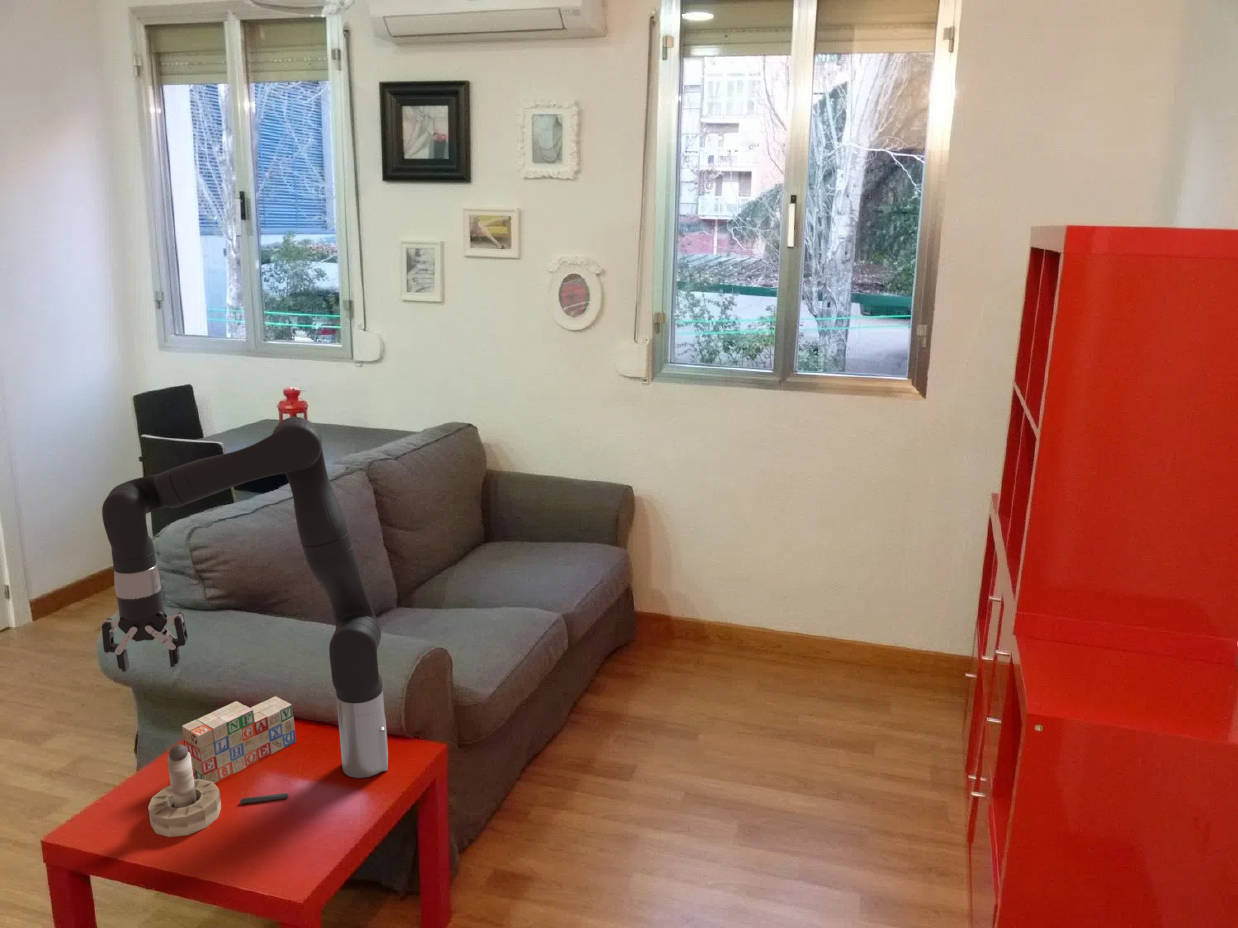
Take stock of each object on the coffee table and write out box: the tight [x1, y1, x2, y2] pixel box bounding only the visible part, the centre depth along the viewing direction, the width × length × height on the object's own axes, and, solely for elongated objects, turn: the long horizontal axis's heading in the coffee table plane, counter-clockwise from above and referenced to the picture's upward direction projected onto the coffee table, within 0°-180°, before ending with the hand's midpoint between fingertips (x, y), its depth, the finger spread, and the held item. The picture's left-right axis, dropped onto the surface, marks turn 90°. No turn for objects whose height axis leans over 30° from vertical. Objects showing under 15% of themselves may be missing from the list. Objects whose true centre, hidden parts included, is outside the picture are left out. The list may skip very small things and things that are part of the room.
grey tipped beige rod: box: [167, 743, 197, 808], centre depth 178 cm, size 4×4×15 cm
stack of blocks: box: [181, 695, 297, 784], centre depth 197 cm, size 21×6×12 cm, turn 143°
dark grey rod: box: [239, 792, 289, 805], centre depth 185 cm, size 9×1×1 cm, turn 103°
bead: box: [147, 779, 222, 838], centre depth 180 cm, size 12×12×4 cm
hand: (149, 667), depth 179 cm, fingers open, 8 cm apart
